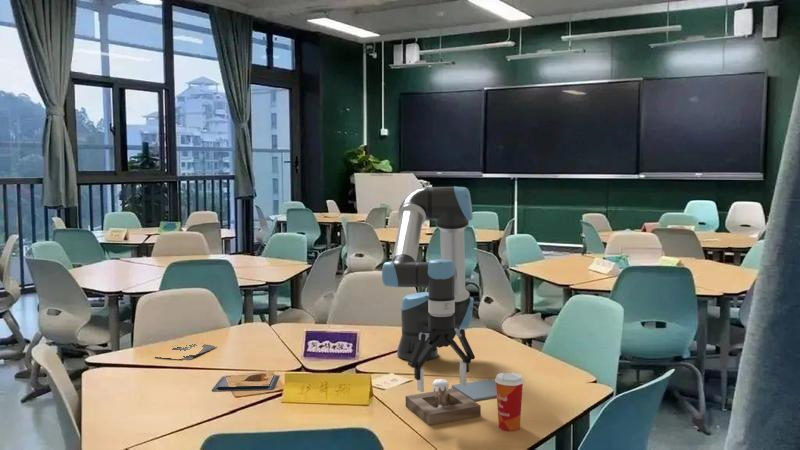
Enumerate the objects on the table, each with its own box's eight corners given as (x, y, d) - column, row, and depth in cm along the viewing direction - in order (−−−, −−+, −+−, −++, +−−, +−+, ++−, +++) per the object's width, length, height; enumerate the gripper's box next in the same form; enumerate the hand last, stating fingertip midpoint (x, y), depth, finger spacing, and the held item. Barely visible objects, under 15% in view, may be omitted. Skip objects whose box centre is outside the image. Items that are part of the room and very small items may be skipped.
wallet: (209, 387, 202) (222, 372, 217) (210, 393, 202) (222, 378, 217) (273, 386, 202) (281, 371, 218) (273, 392, 203) (281, 377, 218)
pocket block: (405, 405, 188) (405, 395, 187) (453, 397, 194) (453, 388, 194) (429, 425, 173) (429, 414, 173) (480, 415, 179) (480, 405, 179)
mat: (451, 386, 204) (451, 385, 204) (489, 380, 209) (489, 379, 209) (473, 401, 191) (473, 399, 191) (513, 394, 196) (513, 392, 196)
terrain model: (188, 362, 236) (188, 354, 236) (154, 360, 241) (154, 351, 240) (220, 348, 255) (219, 340, 255) (188, 345, 260) (187, 338, 260)
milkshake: (450, 414, 181) (450, 379, 180) (431, 413, 182) (431, 378, 181) (452, 408, 185) (452, 374, 184) (434, 407, 186) (433, 373, 185)
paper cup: (491, 422, 175) (491, 372, 174) (519, 420, 175) (519, 371, 174) (498, 433, 167) (498, 381, 166) (527, 432, 168) (527, 380, 167)
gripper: (406, 320, 173) (407, 397, 174) (486, 312, 183) (486, 385, 184) (395, 315, 180) (396, 389, 181) (473, 307, 190) (473, 377, 191)
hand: (442, 387), depth 183 cm, fingers open, 13 cm apart
